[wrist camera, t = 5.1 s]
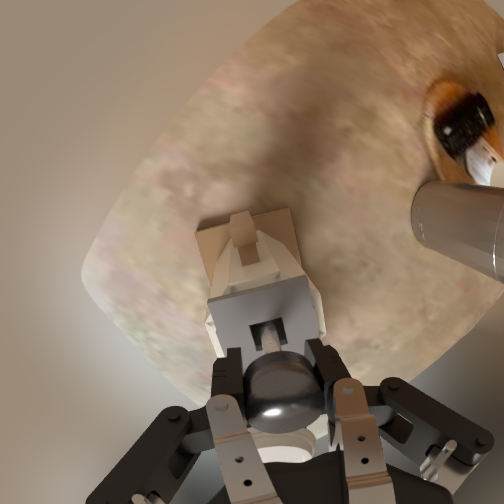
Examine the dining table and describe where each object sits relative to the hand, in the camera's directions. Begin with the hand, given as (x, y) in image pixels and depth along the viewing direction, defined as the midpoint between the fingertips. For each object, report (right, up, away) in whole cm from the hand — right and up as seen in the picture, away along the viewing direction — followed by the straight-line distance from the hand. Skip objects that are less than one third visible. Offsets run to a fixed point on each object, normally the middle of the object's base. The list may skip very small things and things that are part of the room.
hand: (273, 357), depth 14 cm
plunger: (-1, +2, +9) cm, 10 cm away
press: (-1, +4, +16) cm, 17 cm away
